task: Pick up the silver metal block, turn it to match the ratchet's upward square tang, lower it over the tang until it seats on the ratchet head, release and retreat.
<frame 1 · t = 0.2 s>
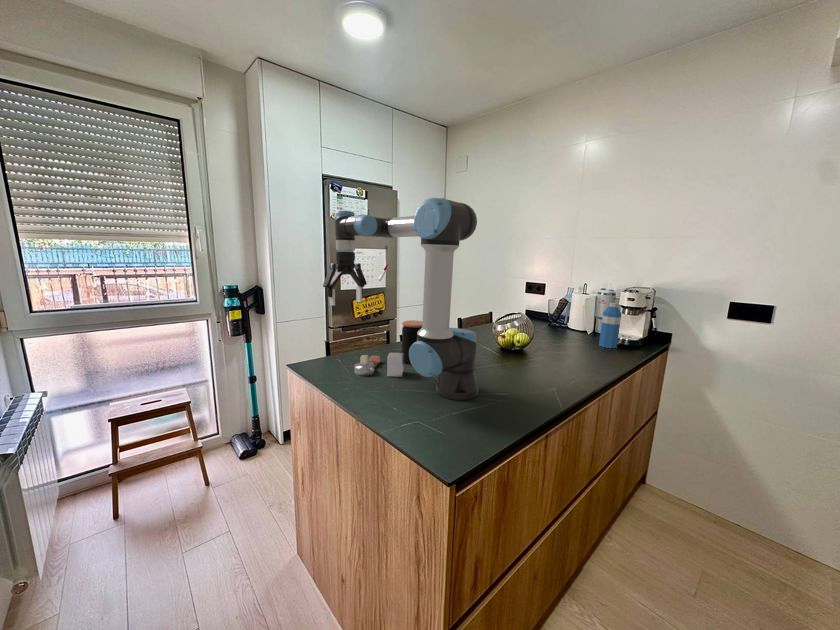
hand: (346, 303, 137), 27 cm above the counter, fingers open, 13 cm apart
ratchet: (364, 372, 136), on the counter
silver metal block: (395, 373, 135), on the counter
water bottle: (607, 347, 185), on the counter
coffee jar: (413, 361, 152), on the counter
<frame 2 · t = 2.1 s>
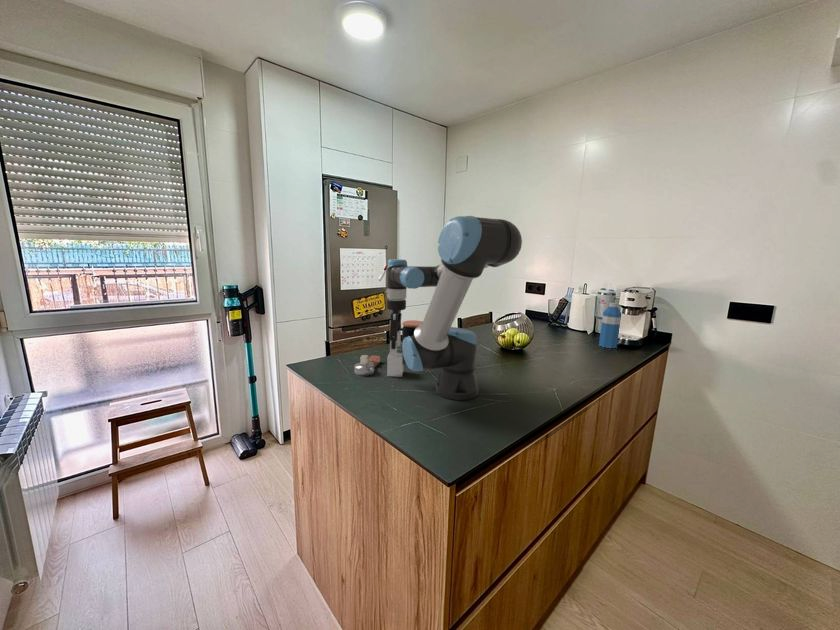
hand: (395, 351, 134), 10 cm above the counter, fingers open, 13 cm apart
nothing on the counter moved.
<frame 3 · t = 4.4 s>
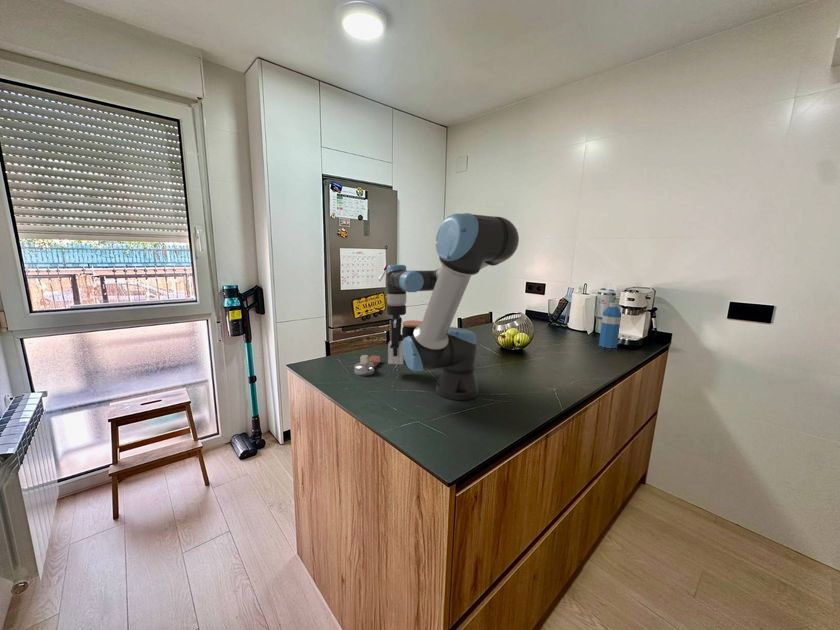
hand: (396, 361, 134), 6 cm above the counter, fingers closed on silver metal block, 6 cm apart
silver metal block: (396, 361, 134), point 5 cm above the counter, touching gripper
everything else where it was.
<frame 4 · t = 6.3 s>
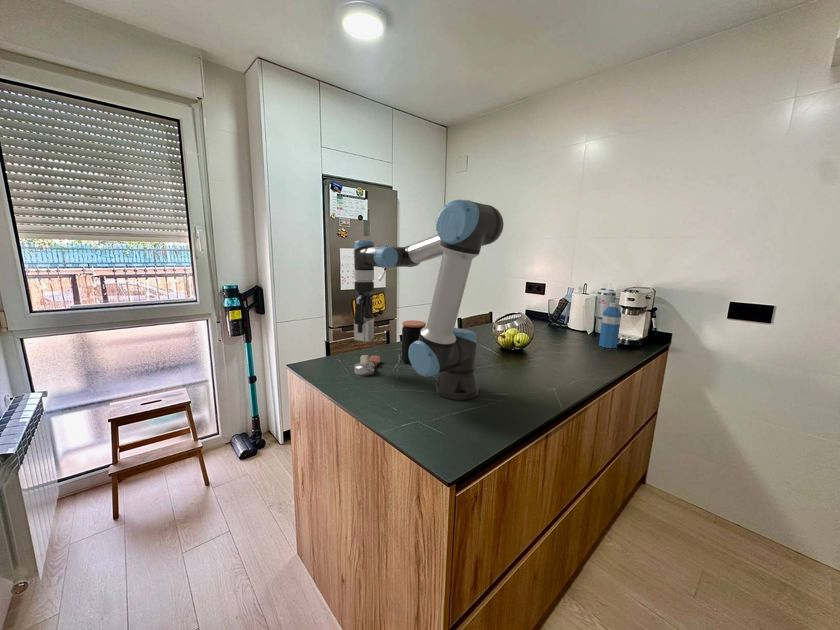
hand: (364, 338, 133), 14 cm above the counter, fingers closed on silver metal block, 6 cm apart
silver metal block: (364, 338, 133), point 14 cm above the counter, touching gripper
everything else where it was.
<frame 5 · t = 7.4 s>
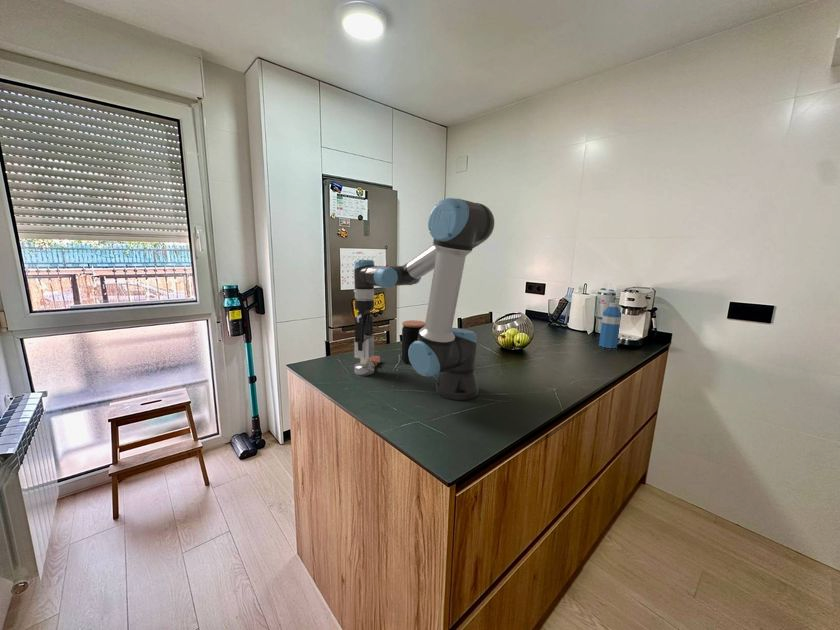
hand: (364, 355, 135), 7 cm above the counter, fingers closed on silver metal block, 6 cm apart
silver metal block: (364, 355, 135), point 7 cm above the counter, touching gripper
everything else where it was.
when the fingers open (4 cm above the counter, at t = 8.2 s): silver metal block drops 1 cm, resting on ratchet.
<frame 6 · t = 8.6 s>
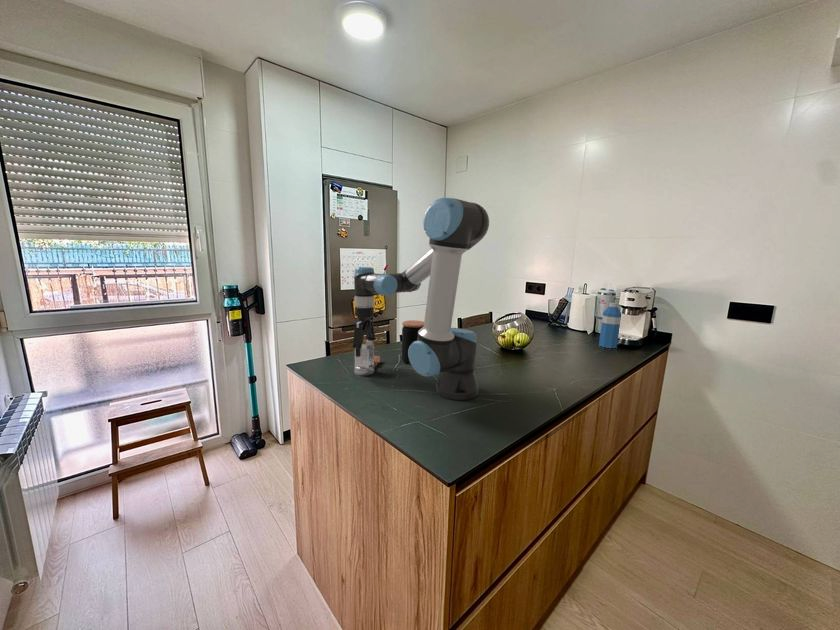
hand: (364, 359, 135), 5 cm above the counter, fingers open, 11 cm apart
silver metal block: (364, 365, 135), point 3 cm above the counter, touching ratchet
everything else where it was.
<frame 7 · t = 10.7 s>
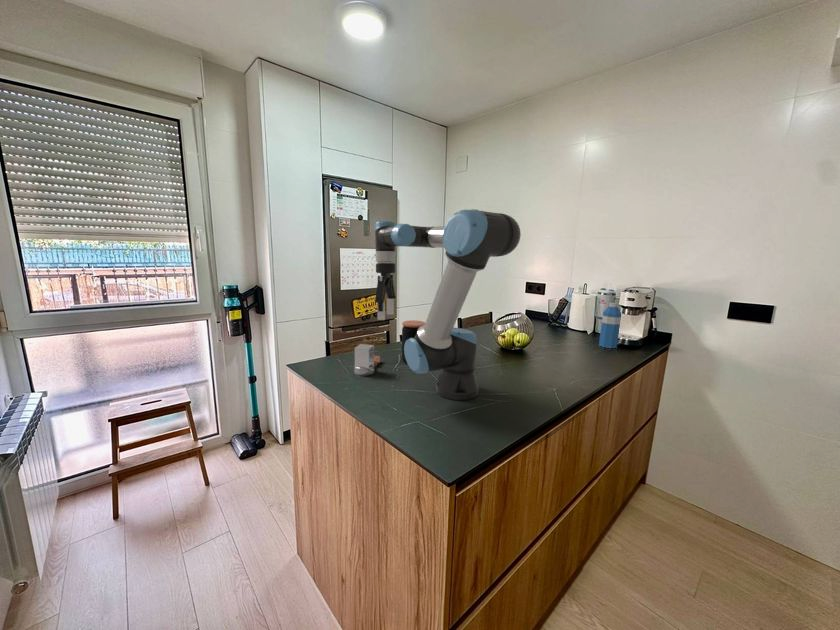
hand: (386, 317, 131), 24 cm above the counter, fingers open, 13 cm apart
nothing on the counter moved.
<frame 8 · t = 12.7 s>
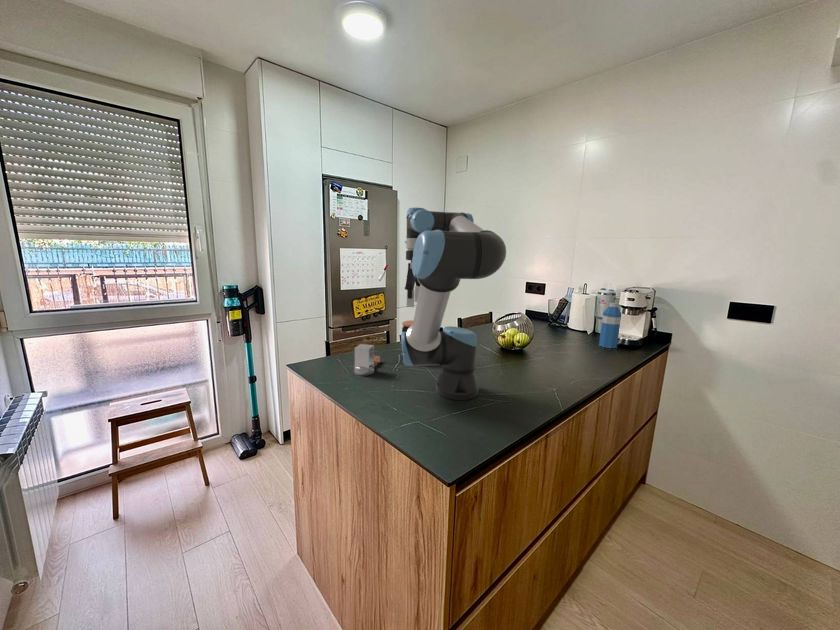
hand: (414, 304, 132), 29 cm above the counter, fingers open, 13 cm apart
nothing on the counter moved.
at the end: silver metal block 0.0 cm off-centre on the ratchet, point 3.0 cm above the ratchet's base; silver metal block tilted 0°; the gripper is holding nothing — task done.
